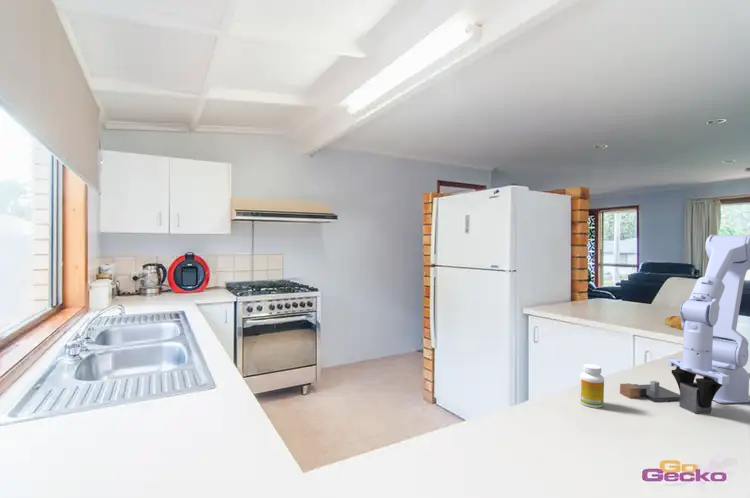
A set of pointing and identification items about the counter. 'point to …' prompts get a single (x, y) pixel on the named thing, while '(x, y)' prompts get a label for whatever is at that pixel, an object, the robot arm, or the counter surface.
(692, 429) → the counter surface
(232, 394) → the counter surface
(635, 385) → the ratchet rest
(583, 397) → the supplement bottle
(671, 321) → the croissant
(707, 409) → the hollow square tube
